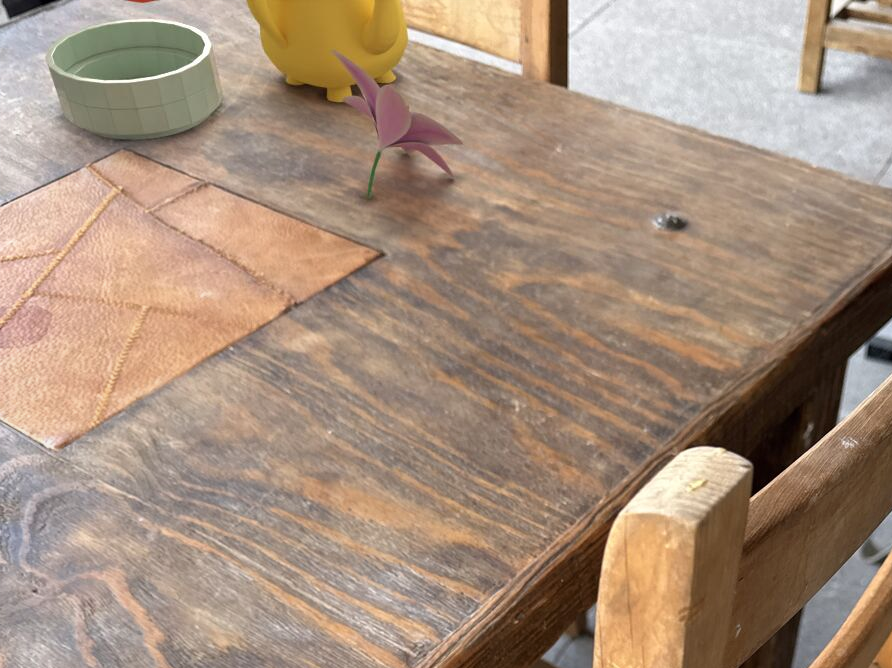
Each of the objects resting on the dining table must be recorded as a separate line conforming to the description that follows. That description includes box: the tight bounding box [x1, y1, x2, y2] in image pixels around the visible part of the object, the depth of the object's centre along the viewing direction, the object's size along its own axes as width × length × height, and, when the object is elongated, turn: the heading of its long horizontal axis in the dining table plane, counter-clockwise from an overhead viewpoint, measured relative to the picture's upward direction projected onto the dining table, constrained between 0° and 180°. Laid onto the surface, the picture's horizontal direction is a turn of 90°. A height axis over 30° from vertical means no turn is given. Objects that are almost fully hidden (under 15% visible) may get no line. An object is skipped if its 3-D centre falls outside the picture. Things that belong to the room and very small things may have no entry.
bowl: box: [44, 18, 223, 141], centre depth 105 cm, size 14×14×5 cm
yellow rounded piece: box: [246, 0, 409, 103], centre depth 107 cm, size 14×14×12 cm
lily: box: [331, 49, 464, 199], centre depth 96 cm, size 12×12×10 cm
